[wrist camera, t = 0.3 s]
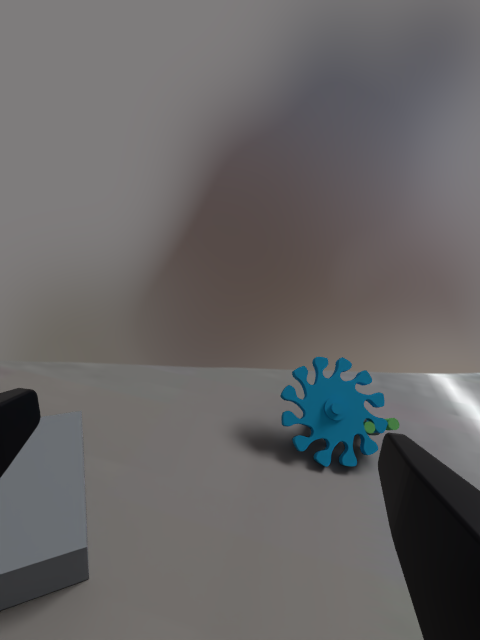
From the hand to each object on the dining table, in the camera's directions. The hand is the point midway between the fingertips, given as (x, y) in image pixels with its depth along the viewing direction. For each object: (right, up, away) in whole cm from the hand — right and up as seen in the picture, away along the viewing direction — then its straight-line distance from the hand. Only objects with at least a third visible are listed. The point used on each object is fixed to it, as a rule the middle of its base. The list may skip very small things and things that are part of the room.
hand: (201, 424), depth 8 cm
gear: (+10, -9, +24) cm, 27 cm away
